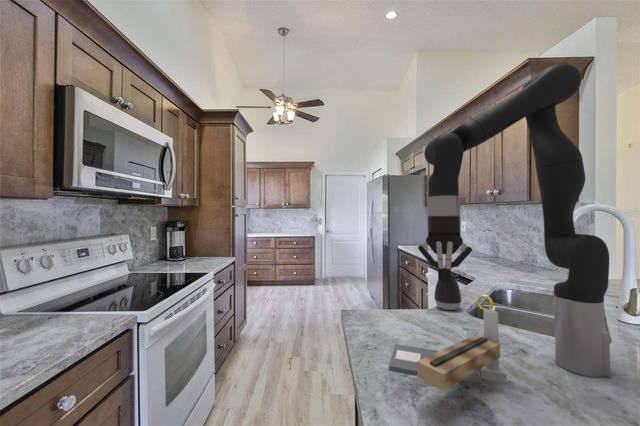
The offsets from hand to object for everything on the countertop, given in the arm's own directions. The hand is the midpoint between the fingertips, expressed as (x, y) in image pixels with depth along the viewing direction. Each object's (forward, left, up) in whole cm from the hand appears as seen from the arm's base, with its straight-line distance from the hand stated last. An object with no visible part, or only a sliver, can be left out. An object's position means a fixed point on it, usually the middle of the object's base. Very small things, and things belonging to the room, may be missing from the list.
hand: (444, 283), depth 71 cm
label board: (0, 0, -21) cm, 21 cm away
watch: (-17, -54, -21) cm, 60 cm away
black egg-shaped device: (-3, -50, -21) cm, 54 cm away
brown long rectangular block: (-3, +11, -15) cm, 19 cm away
